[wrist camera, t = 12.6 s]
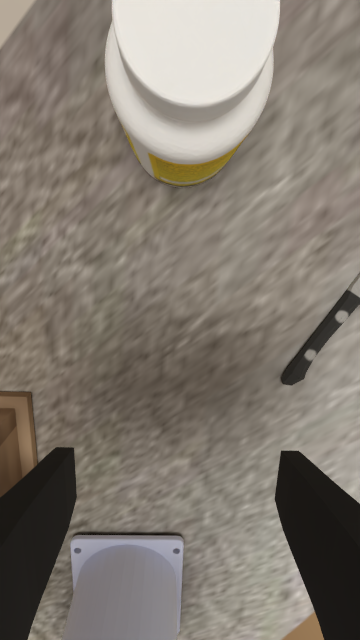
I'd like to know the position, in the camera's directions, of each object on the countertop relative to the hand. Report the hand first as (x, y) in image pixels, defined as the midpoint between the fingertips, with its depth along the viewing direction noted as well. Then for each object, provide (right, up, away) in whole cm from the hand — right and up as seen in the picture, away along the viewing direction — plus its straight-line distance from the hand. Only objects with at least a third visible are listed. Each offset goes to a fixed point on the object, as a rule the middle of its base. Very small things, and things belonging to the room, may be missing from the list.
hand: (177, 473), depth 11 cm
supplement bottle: (0, +15, +6) cm, 16 cm away
